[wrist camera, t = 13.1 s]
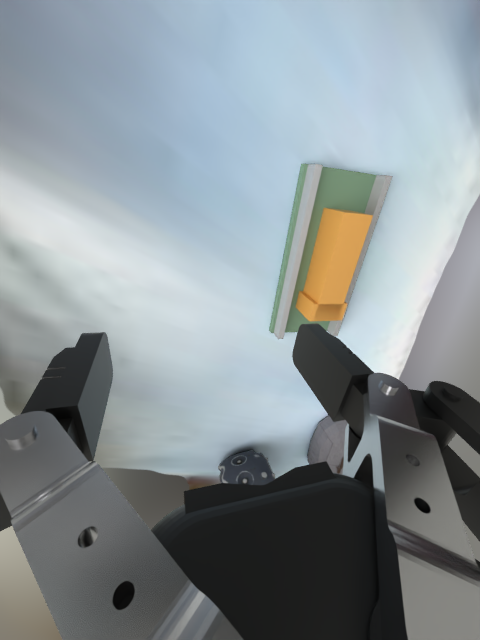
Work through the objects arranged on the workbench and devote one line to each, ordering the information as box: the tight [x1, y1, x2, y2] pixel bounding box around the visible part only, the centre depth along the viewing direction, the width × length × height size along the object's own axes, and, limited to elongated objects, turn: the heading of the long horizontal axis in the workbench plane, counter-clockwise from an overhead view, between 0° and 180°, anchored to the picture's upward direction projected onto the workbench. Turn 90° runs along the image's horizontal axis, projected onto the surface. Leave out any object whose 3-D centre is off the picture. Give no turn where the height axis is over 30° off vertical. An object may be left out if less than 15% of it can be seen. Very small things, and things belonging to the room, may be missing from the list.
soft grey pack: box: [307, 416, 348, 474], centre depth 66 cm, size 15×8×20 cm
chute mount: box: [269, 164, 392, 339], centre depth 41 cm, size 26×13×3 cm, turn 174°
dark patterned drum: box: [218, 450, 275, 485], centre depth 56 cm, size 11×20×20 cm, turn 1°
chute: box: [296, 208, 373, 321], centre depth 39 cm, size 16×6×5 cm, turn 173°
